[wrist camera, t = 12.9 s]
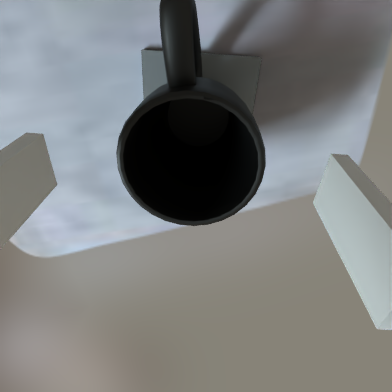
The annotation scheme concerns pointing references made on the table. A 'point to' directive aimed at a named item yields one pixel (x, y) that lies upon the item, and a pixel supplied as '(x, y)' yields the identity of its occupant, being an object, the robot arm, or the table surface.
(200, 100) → the mug
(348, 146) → the table surface
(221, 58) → the coaster
